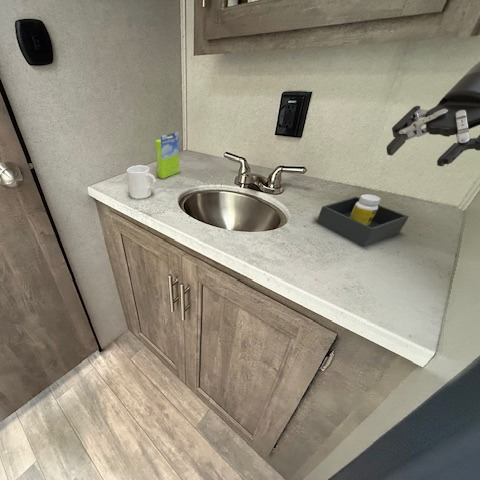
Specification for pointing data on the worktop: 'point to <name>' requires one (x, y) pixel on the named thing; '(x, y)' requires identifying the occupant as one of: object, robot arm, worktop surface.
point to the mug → (140, 181)
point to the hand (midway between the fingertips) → (412, 158)
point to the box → (167, 155)
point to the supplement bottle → (365, 209)
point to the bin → (364, 235)
